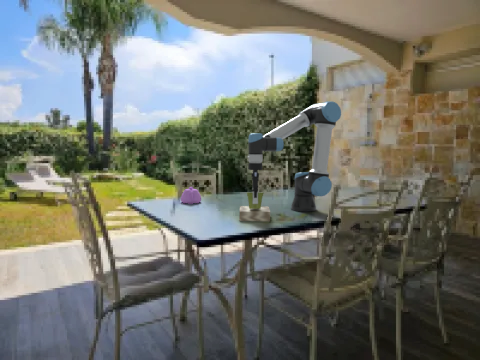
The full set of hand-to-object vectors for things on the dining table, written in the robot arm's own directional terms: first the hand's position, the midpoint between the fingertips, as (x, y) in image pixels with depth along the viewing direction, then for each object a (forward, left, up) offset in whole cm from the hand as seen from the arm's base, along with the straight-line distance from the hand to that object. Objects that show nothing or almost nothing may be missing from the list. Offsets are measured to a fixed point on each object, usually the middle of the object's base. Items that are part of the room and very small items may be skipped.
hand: (254, 201), depth 195 cm
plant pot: (0, +4, -4) cm, 5 cm away
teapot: (+42, -49, -9) cm, 65 cm away
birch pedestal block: (0, 0, -9) cm, 9 cm away
